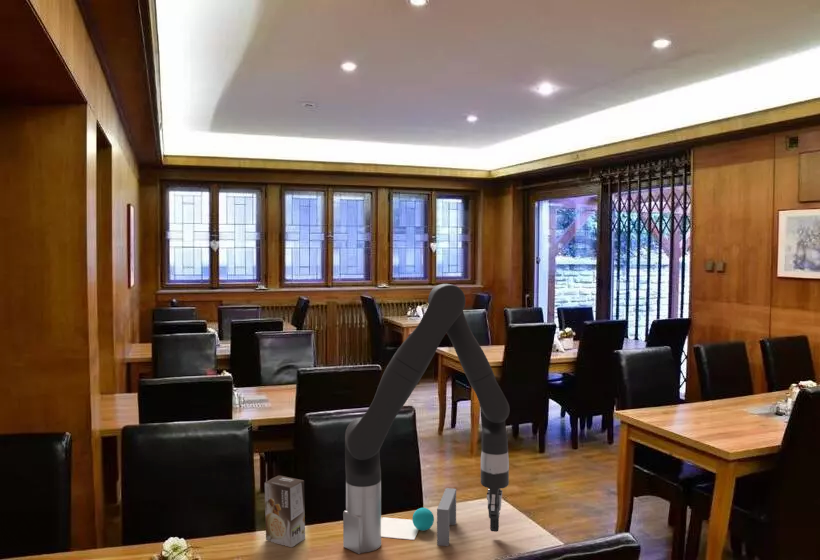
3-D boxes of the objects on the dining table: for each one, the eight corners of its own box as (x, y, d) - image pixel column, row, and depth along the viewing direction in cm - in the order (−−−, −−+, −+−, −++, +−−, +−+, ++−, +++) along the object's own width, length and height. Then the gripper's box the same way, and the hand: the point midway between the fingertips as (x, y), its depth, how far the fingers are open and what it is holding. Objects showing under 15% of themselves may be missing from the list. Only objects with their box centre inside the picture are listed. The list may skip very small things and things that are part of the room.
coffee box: (306, 538, 168) (305, 480, 168) (291, 548, 163) (290, 487, 162) (279, 531, 173) (279, 474, 172) (264, 540, 167) (263, 482, 166)
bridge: (456, 522, 178) (456, 488, 178) (448, 546, 163) (448, 509, 163) (445, 521, 179) (445, 488, 178) (437, 545, 164) (437, 509, 164)
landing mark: (422, 521, 179) (422, 520, 179) (414, 540, 167) (414, 539, 167) (382, 517, 181) (382, 517, 181) (371, 536, 169) (371, 535, 169)
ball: (431, 528, 169) (413, 515, 170) (423, 538, 172) (405, 526, 173) (440, 512, 173) (422, 499, 174) (432, 522, 177) (415, 510, 178)
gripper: (483, 458, 175) (483, 519, 176) (478, 474, 162) (478, 540, 163) (510, 460, 173) (509, 521, 174) (507, 476, 160) (507, 542, 161)
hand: (494, 530), depth 168 cm, fingers closed
